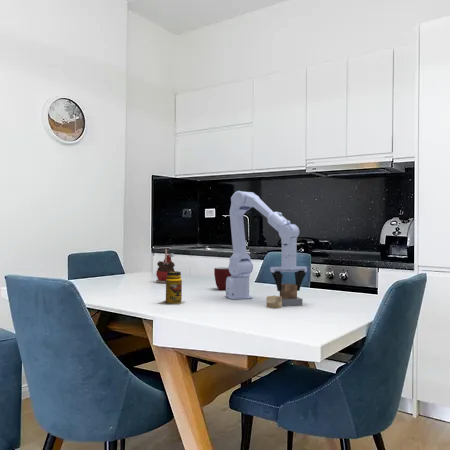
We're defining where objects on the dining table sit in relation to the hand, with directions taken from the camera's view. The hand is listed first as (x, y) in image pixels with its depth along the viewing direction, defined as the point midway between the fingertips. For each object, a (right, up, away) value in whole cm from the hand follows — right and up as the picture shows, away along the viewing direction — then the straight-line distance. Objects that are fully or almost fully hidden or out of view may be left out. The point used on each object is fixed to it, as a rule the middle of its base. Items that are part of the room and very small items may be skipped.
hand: (288, 290), depth 180 cm
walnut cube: (0, -3, 0) cm, 3 cm away
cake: (-55, -5, +61) cm, 82 cm away
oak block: (-6, -5, -7) cm, 11 cm away
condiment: (-45, -5, 0) cm, 45 cm away
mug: (-26, -5, +38) cm, 46 cm away
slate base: (0, -5, 0) cm, 5 cm away
